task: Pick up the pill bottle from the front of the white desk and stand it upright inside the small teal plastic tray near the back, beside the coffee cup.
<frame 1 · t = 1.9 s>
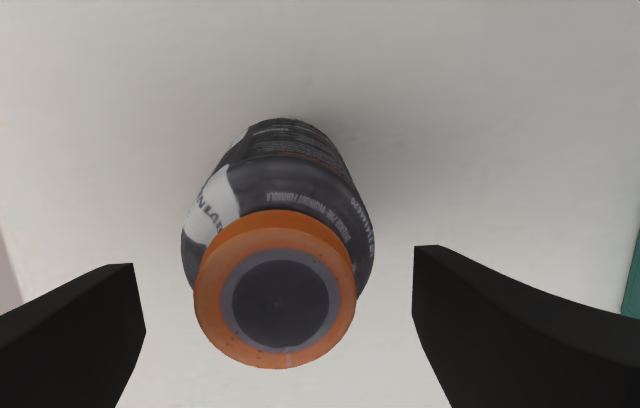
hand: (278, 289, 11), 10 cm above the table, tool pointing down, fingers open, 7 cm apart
pill bottle: (283, 177, 21), on the table
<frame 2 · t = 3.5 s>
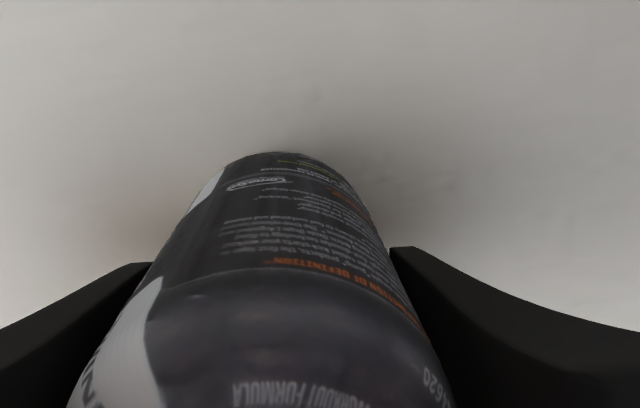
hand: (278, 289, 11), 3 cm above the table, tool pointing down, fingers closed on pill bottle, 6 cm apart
pill bottle: (280, 234, 14), on the table, touching gripper
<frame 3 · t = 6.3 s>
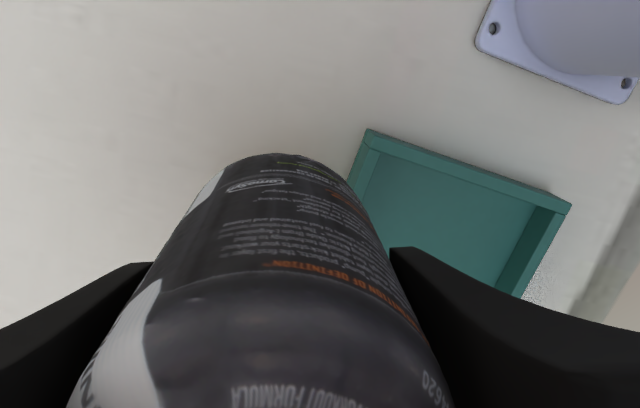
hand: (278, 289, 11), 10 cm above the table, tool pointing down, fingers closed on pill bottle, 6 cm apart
tray: (420, 251, 23), on the table
pill bottle: (279, 235, 14), point 7 cm above the table, touching gripper
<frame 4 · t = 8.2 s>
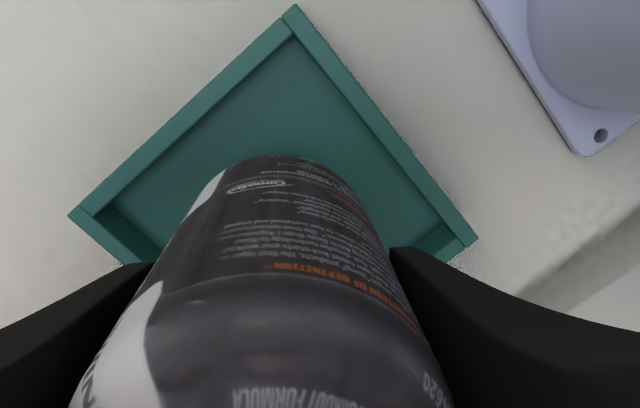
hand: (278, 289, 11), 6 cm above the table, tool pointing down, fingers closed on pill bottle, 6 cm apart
tray: (282, 209, 17), on the table
pill bottle: (280, 236, 14), point 3 cm above the table, touching gripper
when the fingers open (4 cm above the table, at t = 9.6 s): pill bottle stays where it is, resting on tray.
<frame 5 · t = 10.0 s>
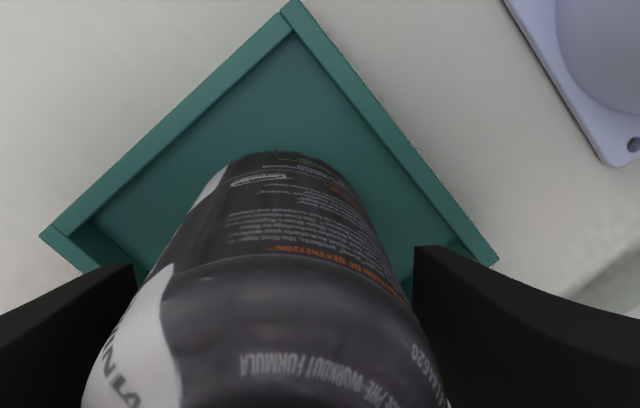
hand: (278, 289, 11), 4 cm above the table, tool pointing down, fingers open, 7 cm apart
tray: (281, 226, 15), on the table
pill bottle: (280, 230, 15), resting on tray
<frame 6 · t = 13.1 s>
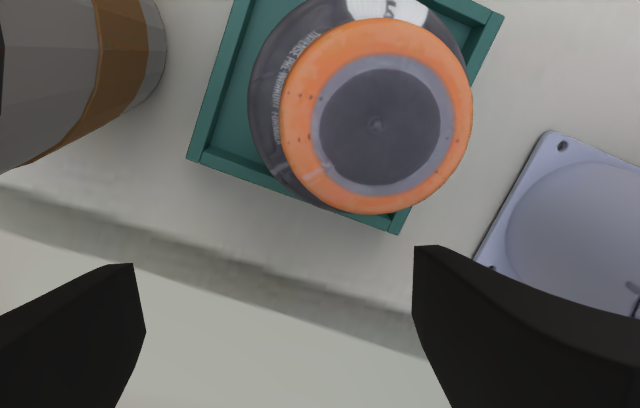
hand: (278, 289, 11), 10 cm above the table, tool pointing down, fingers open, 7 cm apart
coffee cup: (97, 39, 19), on the table
tray: (336, 87, 20), on the table
pill bottle: (334, 87, 19), resting on tray
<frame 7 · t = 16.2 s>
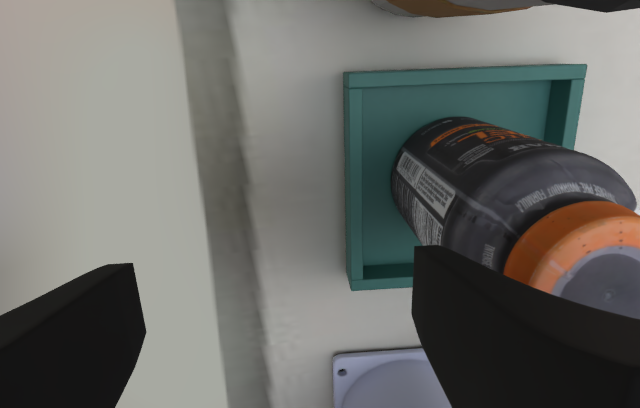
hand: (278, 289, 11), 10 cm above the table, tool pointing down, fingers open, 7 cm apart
tray: (446, 175, 21), on the table
pill bottle: (446, 175, 21), resting on tray
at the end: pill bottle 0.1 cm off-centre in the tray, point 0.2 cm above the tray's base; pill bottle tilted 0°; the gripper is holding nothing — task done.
